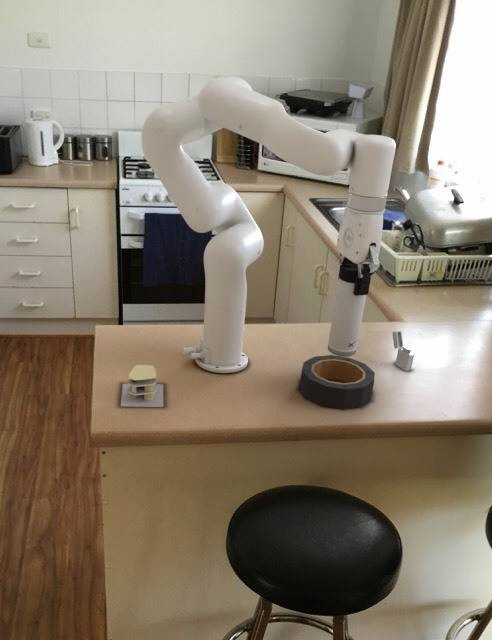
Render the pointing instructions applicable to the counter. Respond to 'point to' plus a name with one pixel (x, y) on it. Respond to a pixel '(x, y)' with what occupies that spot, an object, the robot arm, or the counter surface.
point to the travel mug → (346, 313)
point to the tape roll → (334, 392)
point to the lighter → (402, 352)
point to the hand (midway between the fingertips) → (352, 287)
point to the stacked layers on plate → (142, 388)
